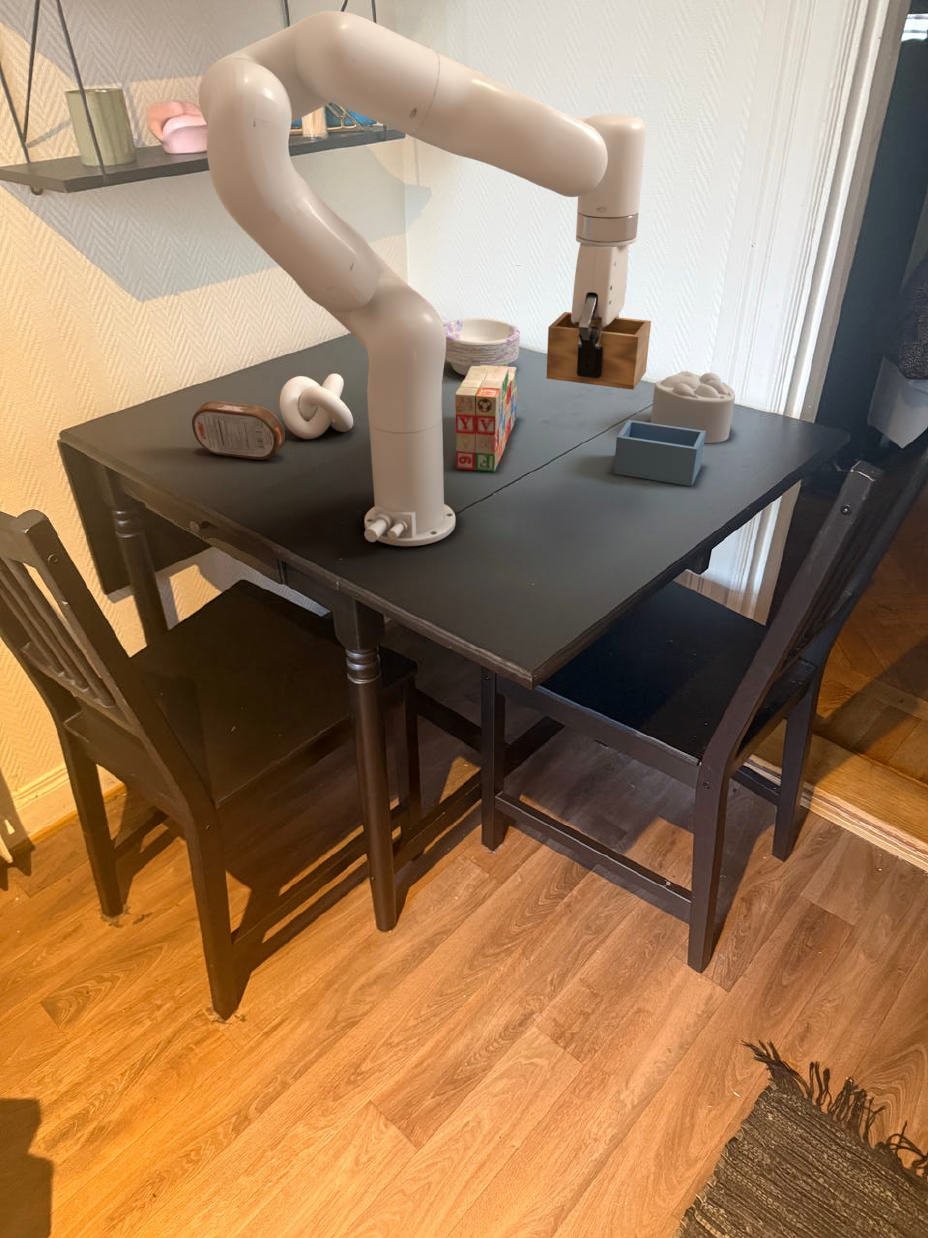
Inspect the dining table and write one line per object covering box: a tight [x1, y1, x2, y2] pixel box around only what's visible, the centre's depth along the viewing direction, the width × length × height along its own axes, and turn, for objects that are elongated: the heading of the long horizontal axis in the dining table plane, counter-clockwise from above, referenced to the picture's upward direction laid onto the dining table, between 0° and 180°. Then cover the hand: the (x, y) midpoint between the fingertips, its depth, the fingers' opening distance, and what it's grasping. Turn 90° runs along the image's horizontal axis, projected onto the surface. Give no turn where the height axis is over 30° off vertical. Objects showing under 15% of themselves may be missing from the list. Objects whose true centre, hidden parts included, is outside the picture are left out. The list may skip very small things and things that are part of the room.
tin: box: [191, 400, 286, 461], centre depth 146 cm, size 15×3×8 cm, turn 74°
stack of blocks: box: [454, 365, 518, 473], centre depth 148 cm, size 21×6×12 cm, turn 168°
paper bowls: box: [443, 317, 521, 377], centre depth 178 cm, size 15×15×8 cm
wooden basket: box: [545, 311, 652, 391], centre depth 124 cm, size 12×7×7 cm, turn 68°
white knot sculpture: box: [279, 373, 354, 440], centre depth 154 cm, size 11×12×9 cm
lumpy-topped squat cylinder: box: [650, 370, 736, 444], centre depth 153 cm, size 10×13×9 cm
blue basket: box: [612, 419, 706, 487], centre depth 141 cm, size 12×7×6 cm, turn 68°
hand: (597, 365), depth 125 cm, fingers closed on wooden basket, 7 cm apart
